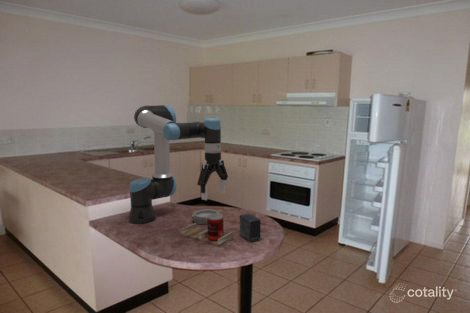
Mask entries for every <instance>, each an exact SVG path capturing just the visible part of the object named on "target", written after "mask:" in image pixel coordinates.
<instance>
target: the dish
mask: <svg viewBox="0 0 470 313" xmlns="http://www.w3.org/2000/svg"><path fill="white" fill-rule="evenodd" d="M210 214H221V213H220V212H219V211H218V210H216V209H211V208H210V209H208V208H207V209H200V210H198V211H194V213H193V214H191V219H192V220H193V222H194V223H197V225H198V224H199V225H207V216H208V215H210Z"/></svg>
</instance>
